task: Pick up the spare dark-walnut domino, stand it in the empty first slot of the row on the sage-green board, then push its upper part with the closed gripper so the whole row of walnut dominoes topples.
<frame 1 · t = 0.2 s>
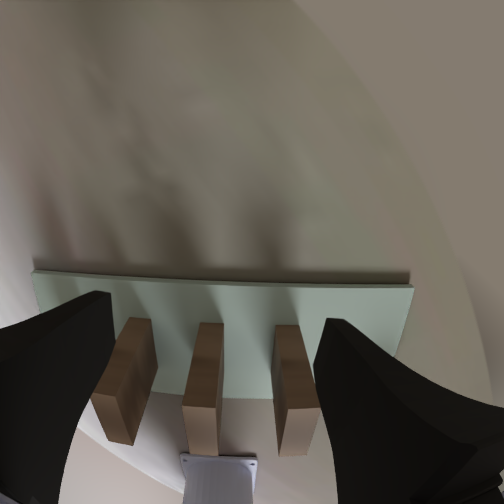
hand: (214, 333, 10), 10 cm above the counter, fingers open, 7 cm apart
board: (213, 343, 22), on the counter
domino c: (144, 343, 21), point 1 cm above the counter, touching board
domino b: (212, 348, 21), point 1 cm above the counter, touching board
domino a: (284, 350, 21), point 1 cm above the counter, touching board
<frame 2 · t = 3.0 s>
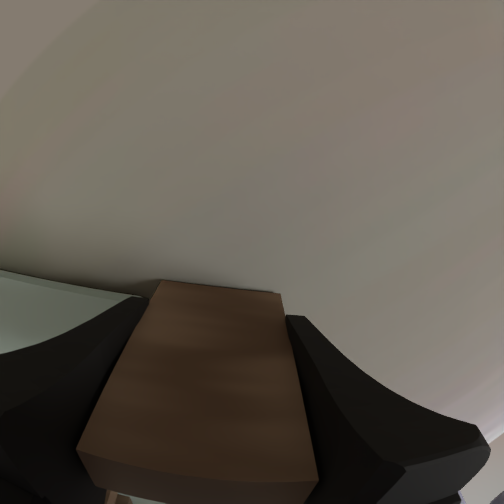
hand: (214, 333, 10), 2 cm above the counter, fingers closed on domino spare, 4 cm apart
board: (92, 458, 16), on the counter
domino c: (105, 493, 17), point 1 cm above the counter, touching board
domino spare: (218, 306, 12), on the counter, touching gripper
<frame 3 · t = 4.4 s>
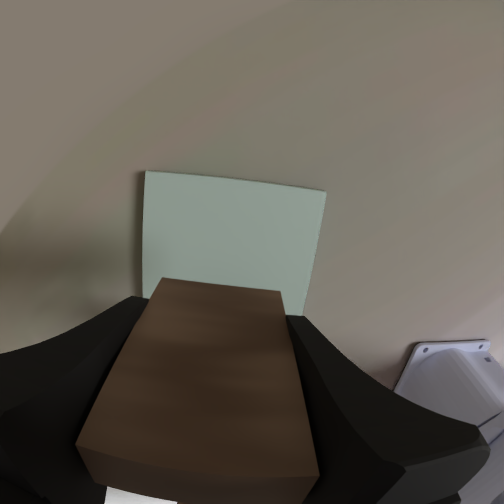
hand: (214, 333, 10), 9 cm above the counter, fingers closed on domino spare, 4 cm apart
board: (215, 376, 22), on the counter
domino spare: (218, 303, 12), point 7 cm above the counter, touching gripper
when the fingers open (3 cm above the counter, at t = 5.9 s): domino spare stays where it is, resting on board.
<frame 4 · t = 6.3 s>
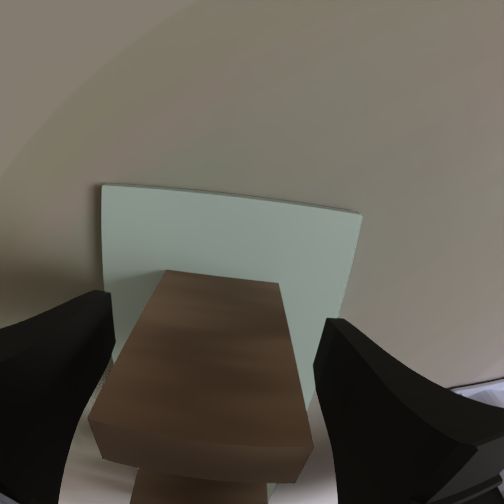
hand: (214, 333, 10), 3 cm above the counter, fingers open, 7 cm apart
board: (209, 435, 16), on the counter
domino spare: (220, 294, 12), point 1 cm above the counter, touching board
domino a: (212, 386, 14), point 1 cm above the counter, touching board
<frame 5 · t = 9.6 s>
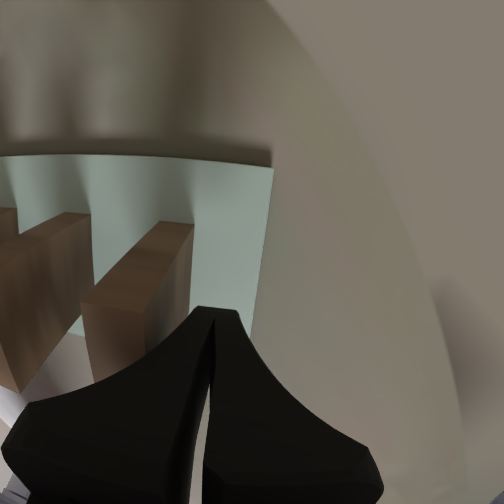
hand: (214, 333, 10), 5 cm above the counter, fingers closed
board: (17, 242, 14), on the counter
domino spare: (174, 268, 14), point 1 cm above the counter, touching board, gripper
domino b: (11, 245, 14), point 1 cm above the counter, touching board
domino a: (79, 255, 14), point 1 cm above the counter, touching board
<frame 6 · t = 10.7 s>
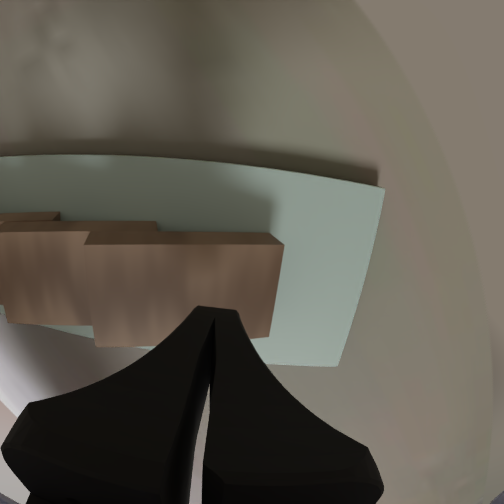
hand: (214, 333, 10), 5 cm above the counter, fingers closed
board: (87, 252, 15), on the counter
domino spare: (269, 286, 14), point 1 cm above the counter, tilted 72°, touching board, domino a
domino b: (59, 259, 13), point 1 cm above the counter, tilted 71°, touching board, domino a, domino c
domino a: (156, 273, 14), point 1 cm above the counter, tilted 72°, touching board, domino b, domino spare
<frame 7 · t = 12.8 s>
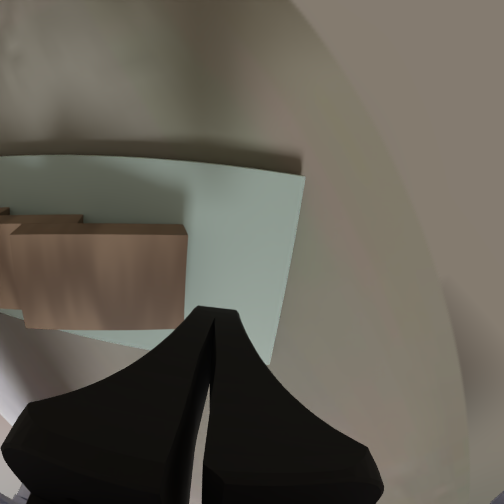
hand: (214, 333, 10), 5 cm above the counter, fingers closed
board: (33, 244, 14), on the counter
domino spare: (182, 277, 14), point 1 cm above the counter, tilted 72°, touching board, domino a
domino a: (82, 263, 13), point 1 cm above the counter, tilted 72°, touching board, domino b, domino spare
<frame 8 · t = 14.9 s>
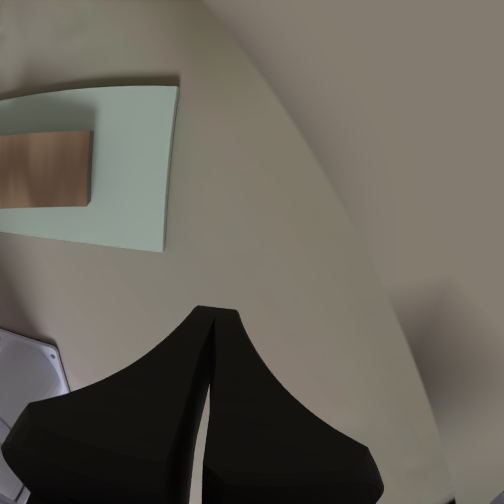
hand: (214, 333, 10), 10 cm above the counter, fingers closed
board: (1, 165, 17), on the counter
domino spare: (89, 167, 16), point 1 cm above the counter, tilted 72°, touching board, domino a
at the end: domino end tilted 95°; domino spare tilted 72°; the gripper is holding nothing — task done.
